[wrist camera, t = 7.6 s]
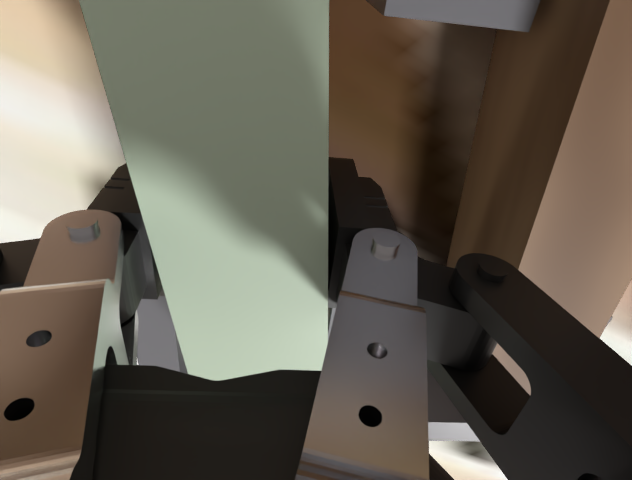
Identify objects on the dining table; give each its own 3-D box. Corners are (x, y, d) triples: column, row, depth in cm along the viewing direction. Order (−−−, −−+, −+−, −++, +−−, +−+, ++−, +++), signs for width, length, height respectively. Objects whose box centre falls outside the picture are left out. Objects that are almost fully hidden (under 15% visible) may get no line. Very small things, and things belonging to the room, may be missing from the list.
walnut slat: (659, -127, 11) (873, -164, 7) (506, 315, 20) (560, 410, 16) (526, -126, 11) (665, -165, 7) (433, 318, 20) (469, 414, 16)
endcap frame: (965, -430, 8) (1243, -581, 6) (500, 388, 23) (524, 442, 21) (19, -668, 7) (-139, -1018, 4) (169, 379, 21) (153, 435, 19)
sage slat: (311, -212, 8) (329, -354, 4) (319, 342, 18) (327, 463, 14) (130, -210, 8) (-26, -355, 4) (233, 345, 18) (216, 470, 13)
